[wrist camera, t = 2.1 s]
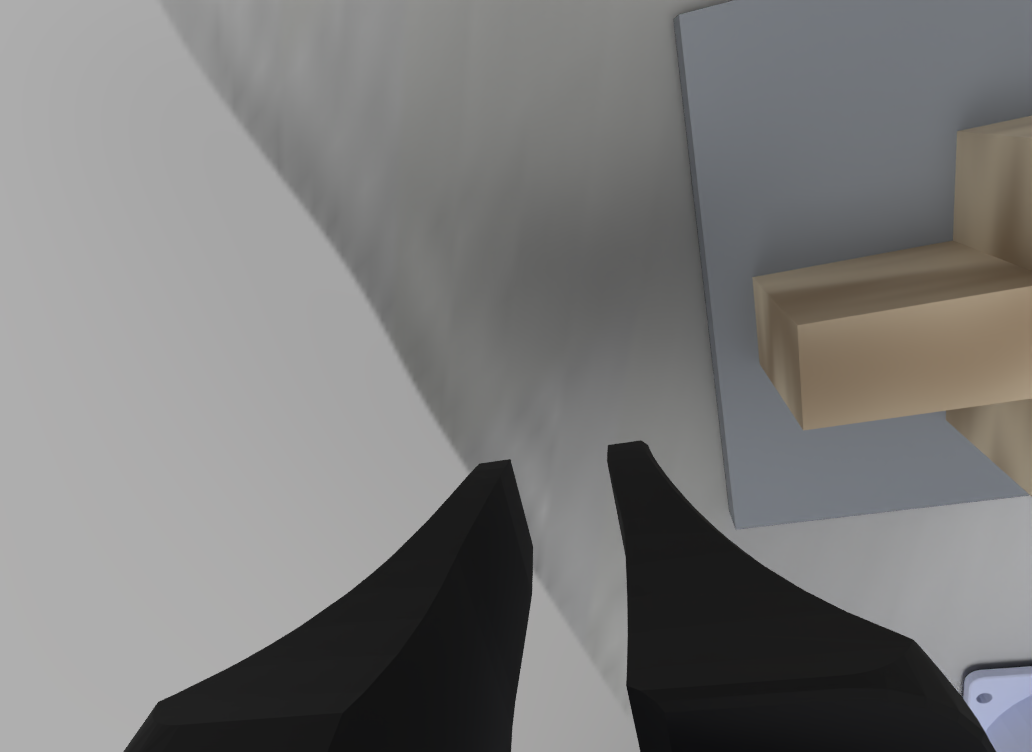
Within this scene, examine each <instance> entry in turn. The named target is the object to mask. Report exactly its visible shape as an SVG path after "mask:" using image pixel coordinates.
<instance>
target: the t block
mask: <svg viewBox="0 0 1032 752" xmlns="http://www.w3.org/2000/svg"><path fill="white" fill-rule="evenodd" d="M752 278H753V290H754V302H755V314H756V326H757V338H758V350H759V362H760V365H761V367H762V368H763V370H764V371H765V373H766V374H767V376H768V377H769V379H770V381H771V382H772V384H773V385H774V387H775V388H776V390H777V391H778V393H779V394H780V396H781V397H782V399H783V400H784V402H785V403H786V405H787V406H788V408H789V409H790V411H791V412H792V414H793V415H794V417H795V419H796V420H797V422H798V423H799V425H800V426H801V428H802V429H803V431H804V430H811V429H818V428H825V427H832V426H839V425H846V424H853V423H861V422H868V421H875V420H882V419H889V418H896V417H903V416H910V415H918V414H925V413H932V412H939V411H946V421H948V422H949V423H950V424H951V425H952V426H953V427H954V428H955V429H956V430H958V431H959V432H960V433H961V434H962V435H963V436H964V437H965V438H967V439H968V440H969V441H970V442H971V443H972V444H973V445H974V446H976V447H977V448H978V449H979V450H980V451H981V452H982V453H983V454H984V455H986V456H987V457H988V458H989V459H990V460H991V461H992V462H993V463H995V464H996V465H997V466H998V467H999V468H1000V469H1001V470H1002V471H1004V472H1005V473H1006V474H1007V475H1008V476H1009V477H1010V478H1011V479H1013V480H1014V481H1015V482H1016V483H1017V484H1018V485H1019V486H1020V487H1021V488H1023V489H1024V490H1025V491H1026V492H1027V493H1028V494H1029V495H1030V496H1032V116H1028V117H1023V118H1018V119H1013V120H1009V121H1004V122H999V123H994V124H990V125H985V126H980V127H975V128H971V129H966V130H961V131H957V147H956V173H955V198H954V224H953V241H948V242H942V243H937V244H931V245H926V246H920V247H915V248H909V249H904V250H898V251H893V252H888V253H882V254H877V255H871V256H866V257H860V258H855V259H849V260H844V261H838V262H833V263H828V264H822V265H817V266H811V267H806V268H800V269H795V270H789V271H784V272H778V273H773V274H768V275H762V276H757V277H752Z"/></svg>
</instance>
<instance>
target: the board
mask: <svg viewBox="0 0 1032 752" xmlns="http://www.w3.org/2000/svg"><path fill="white" fill-rule="evenodd" d="M674 28H675V36H676V45H677V54H678V63H679V72H680V80H681V89H682V98H683V107H684V116H685V125H686V133H687V142H688V151H689V160H690V169H691V177H692V186H693V195H694V204H695V213H696V222H697V230H698V239H699V248H700V257H701V266H702V274H703V283H704V292H705V301H706V310H707V319H708V327H709V336H710V345H711V354H712V363H713V371H714V380H715V389H716V398H717V407H718V416H719V424H720V433H721V442H722V451H723V460H724V468H725V477H726V486H727V495H728V504H729V512H730V514H731V517H732V520H733V523H734V526H735V529H744V528H753V527H761V526H770V525H778V524H787V523H796V522H804V521H813V520H822V519H830V518H839V517H847V516H856V515H865V514H873V513H882V512H890V511H899V510H908V509H916V508H925V507H933V506H942V505H951V504H959V503H968V502H977V501H985V500H994V499H1002V498H1011V497H1020V496H1028V495H1029V494H1028V493H1027V492H1026V491H1025V490H1024V489H1023V488H1021V487H1020V486H1019V485H1018V484H1017V483H1016V482H1015V481H1014V480H1013V479H1011V478H1010V477H1009V476H1008V475H1007V474H1006V473H1005V472H1004V471H1002V470H1001V469H1000V468H999V467H998V466H997V465H996V464H995V463H993V462H992V461H991V460H990V459H989V458H988V457H987V456H986V455H984V454H983V453H982V452H981V451H980V450H979V449H978V448H977V447H976V446H974V445H973V444H972V443H971V442H970V441H969V440H968V439H967V438H965V437H964V436H963V435H962V434H961V433H960V432H959V431H958V430H956V429H955V428H954V427H953V426H952V425H951V424H950V423H949V422H948V421H946V411H939V412H932V413H925V414H918V415H910V416H903V417H896V418H889V419H882V420H875V421H868V422H861V423H853V424H846V425H839V426H832V427H825V428H818V429H811V430H804V431H803V429H802V428H801V426H800V425H799V423H798V422H797V420H796V419H795V417H794V415H793V414H792V412H791V411H790V409H789V408H788V406H787V405H786V403H785V402H784V400H783V399H782V397H781V396H780V394H779V393H778V391H777V390H776V388H775V387H774V385H773V384H772V382H771V381H770V379H769V377H768V376H767V374H766V373H765V371H764V370H763V368H762V367H761V365H760V362H759V350H758V338H757V326H756V314H755V302H754V290H753V278H752V277H757V276H762V275H768V274H773V273H778V272H784V271H789V270H795V269H800V268H806V267H811V266H817V265H822V264H828V263H833V262H838V261H844V260H849V259H855V258H860V257H866V256H871V255H877V254H882V253H888V252H893V251H898V250H904V249H909V248H915V247H920V246H926V245H931V244H937V243H942V242H948V241H953V224H954V198H955V173H956V147H957V131H961V130H966V129H971V128H975V127H980V126H985V125H990V124H994V123H999V122H1004V121H1009V120H1013V119H1018V118H1023V117H1028V116H1032V0H733V1H729V2H725V3H722V4H718V5H714V6H710V7H706V8H702V9H698V10H695V11H691V12H687V13H683V14H679V15H678V16H677V17H676V18H674Z"/></svg>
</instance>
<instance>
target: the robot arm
mask: <svg viewBox="0 0 1032 752" xmlns="http://www.w3.org/2000/svg"><path fill="white" fill-rule="evenodd" d="M607 463H608V468H609V473H610V478H611V483H612V488H613V493H614V499H615V504H616V509H617V514H618V519H619V524H620V530H621V535H622V540H623V545H624V550H625V555H626V572H627V602H628V652H627V683H626V686H627V691H628V695H629V700H630V705H631V709H632V714H633V719H634V723H635V728H636V733H637V738H638V742H639V747H640V752H1032V666H1027V667H1013V668H999V669H986V670H977V671H973V672H971V673H969V674H968V675H967V676H966V678H965V681H964V696H963V698H962V697H961V695H960V694H959V693H958V692H957V690H956V689H955V688H954V687H953V685H952V684H951V683H950V682H949V681H948V679H947V678H946V677H945V676H944V674H943V673H942V672H941V671H940V670H939V668H938V667H937V666H936V665H935V664H934V663H933V661H932V660H931V659H930V658H929V657H928V655H927V654H926V653H925V652H924V651H923V650H922V648H921V647H920V646H919V645H918V644H917V643H916V642H915V641H914V640H913V639H910V638H908V637H906V636H903V635H901V634H898V633H896V632H894V631H891V630H889V629H886V628H884V627H882V626H879V625H877V624H874V623H872V622H870V621H867V620H865V619H862V618H860V617H858V616H855V615H853V614H851V613H848V612H846V611H844V610H842V609H840V608H838V607H836V606H834V605H832V604H830V603H828V602H826V601H824V600H822V599H820V598H818V597H816V596H814V595H812V594H810V593H808V592H806V591H804V590H803V589H801V588H799V587H797V586H796V585H794V584H792V583H791V582H789V581H788V580H786V579H784V578H783V577H781V576H779V575H778V574H776V573H775V572H773V571H771V570H770V569H768V568H767V567H765V566H763V565H762V564H761V563H759V562H758V561H756V560H755V559H754V558H752V557H751V556H750V555H748V554H747V553H745V552H744V551H743V550H742V549H740V548H739V547H738V546H737V545H735V544H734V543H733V542H731V541H730V540H729V539H728V538H727V537H725V536H724V535H723V534H722V533H721V532H720V531H718V530H717V529H716V528H715V527H714V526H713V525H712V524H711V523H710V522H709V521H708V520H707V519H706V518H705V517H703V516H702V515H701V514H700V513H699V512H698V511H697V510H696V509H695V508H694V507H693V506H692V504H691V503H690V502H689V501H688V500H687V499H686V498H685V497H684V496H683V495H682V493H681V492H680V491H679V490H678V489H677V488H676V487H675V485H674V484H673V483H672V482H671V481H670V479H669V478H668V477H667V476H666V474H665V473H664V471H663V470H662V469H661V467H660V466H659V465H658V463H657V461H656V460H655V458H654V457H653V455H652V453H651V451H650V449H649V446H648V445H647V444H646V443H644V442H643V441H634V442H627V443H620V444H613V445H608V452H607ZM532 576H533V545H532V541H531V537H530V533H529V529H528V525H527V522H526V518H525V514H524V510H523V506H522V502H521V498H520V495H519V491H518V487H517V483H516V479H515V475H514V472H513V468H512V464H511V460H510V459H509V460H502V461H495V462H488V463H481V464H479V465H478V466H477V467H476V468H475V469H474V470H473V471H472V472H471V473H470V474H469V475H468V476H467V477H466V479H465V480H464V481H463V482H462V483H461V485H459V487H458V488H457V489H456V490H455V491H454V492H453V493H452V494H451V496H450V497H449V498H448V499H447V500H446V501H445V502H444V503H443V504H442V506H441V507H440V508H439V509H438V510H437V511H436V512H435V514H433V515H432V517H431V518H430V519H429V520H428V521H427V522H426V523H425V524H424V525H423V526H422V527H421V528H420V529H419V530H418V531H417V532H416V533H415V534H414V535H413V536H412V537H411V538H410V539H409V540H408V541H407V542H406V543H405V544H404V545H403V546H402V547H401V548H400V549H399V550H398V551H397V552H396V553H395V554H394V555H392V557H390V558H389V559H388V560H387V561H386V562H385V563H384V564H382V565H381V566H380V567H379V568H378V569H377V570H376V571H374V572H373V573H372V574H371V575H370V576H368V577H367V578H366V579H365V580H363V581H362V582H361V583H360V584H358V585H357V586H356V587H355V588H354V589H352V590H351V591H350V592H348V593H347V594H346V595H344V596H343V597H342V598H340V599H339V600H337V601H336V602H334V603H333V604H332V605H330V606H329V607H327V608H326V609H324V610H323V611H322V612H320V613H319V614H317V615H316V616H314V617H313V618H312V619H310V620H309V621H307V622H306V623H304V624H303V625H302V626H300V627H298V628H297V629H295V630H294V631H292V632H290V633H289V634H287V635H285V636H284V637H282V638H281V639H279V640H277V641H276V642H274V643H272V644H271V645H269V646H267V647H265V648H264V649H262V650H260V651H259V652H257V653H255V654H253V655H251V656H250V657H248V658H246V659H244V660H242V661H241V662H239V663H237V664H235V665H233V666H231V667H230V668H228V669H226V670H224V671H222V672H220V673H218V674H216V675H214V676H211V677H210V678H207V679H205V680H203V681H201V682H199V683H197V684H195V685H193V686H191V687H189V688H187V689H185V690H183V691H181V692H179V693H177V694H175V695H173V696H171V697H168V698H166V699H164V700H162V701H160V702H158V703H157V705H156V706H155V708H154V709H153V710H152V712H151V713H150V715H149V716H148V718H147V719H146V720H145V722H144V723H143V725H142V726H141V727H140V729H139V730H138V732H137V733H136V735H135V736H134V737H133V739H132V740H131V742H130V743H129V745H128V746H127V747H126V749H125V750H124V752H511V741H512V725H513V717H514V708H515V700H516V693H517V687H518V681H519V674H520V668H521V662H522V656H523V649H524V643H525V636H526V630H527V624H528V617H529V610H530V603H531V596H532Z"/></svg>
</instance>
